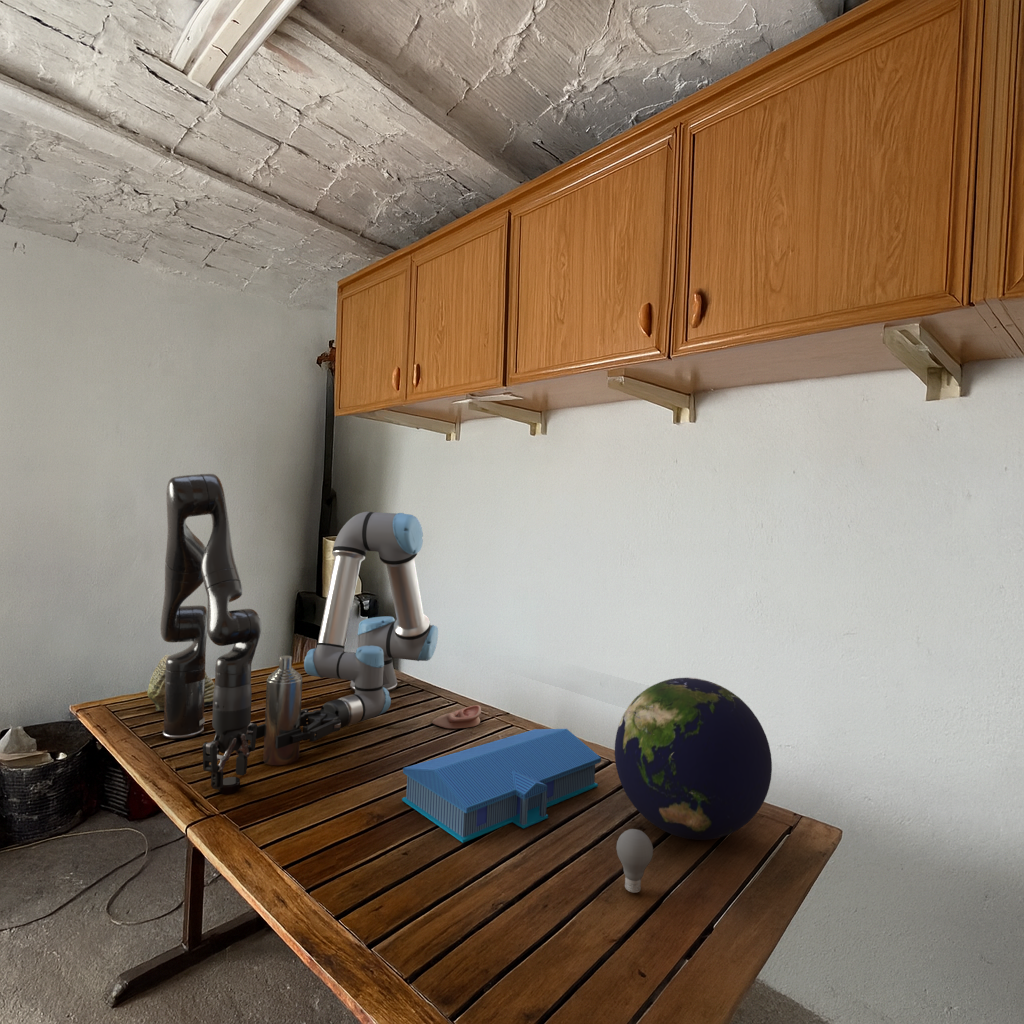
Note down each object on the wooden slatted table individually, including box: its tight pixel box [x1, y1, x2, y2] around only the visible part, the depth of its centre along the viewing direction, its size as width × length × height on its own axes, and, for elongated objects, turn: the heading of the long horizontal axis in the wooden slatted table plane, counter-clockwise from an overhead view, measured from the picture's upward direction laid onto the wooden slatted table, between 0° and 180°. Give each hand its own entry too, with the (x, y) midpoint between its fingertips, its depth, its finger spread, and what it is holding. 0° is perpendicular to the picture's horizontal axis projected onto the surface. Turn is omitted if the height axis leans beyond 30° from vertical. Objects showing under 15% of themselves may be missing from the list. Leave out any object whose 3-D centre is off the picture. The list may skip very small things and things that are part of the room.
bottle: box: [262, 655, 303, 766], centre depth 152 cm, size 8×8×24 cm
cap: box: [218, 776, 241, 795], centre depth 135 cm, size 4×4×2 cm
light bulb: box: [615, 828, 654, 894], centre depth 106 cm, size 6×6×10 cm
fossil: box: [147, 654, 215, 712], centre depth 185 cm, size 9×18×15 cm, turn 132°
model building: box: [401, 728, 602, 844], centre depth 138 cm, size 39×24×10 cm, turn 132°
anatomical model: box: [431, 704, 482, 729], centre depth 181 cm, size 13×4×12 cm
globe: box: [614, 676, 773, 841], centre depth 126 cm, size 30×30×30 cm
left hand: (229, 780), depth 135 cm, fingers open, 6 cm apart
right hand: (265, 737), depth 148 cm, fingers closed on bottle, 8 cm apart
